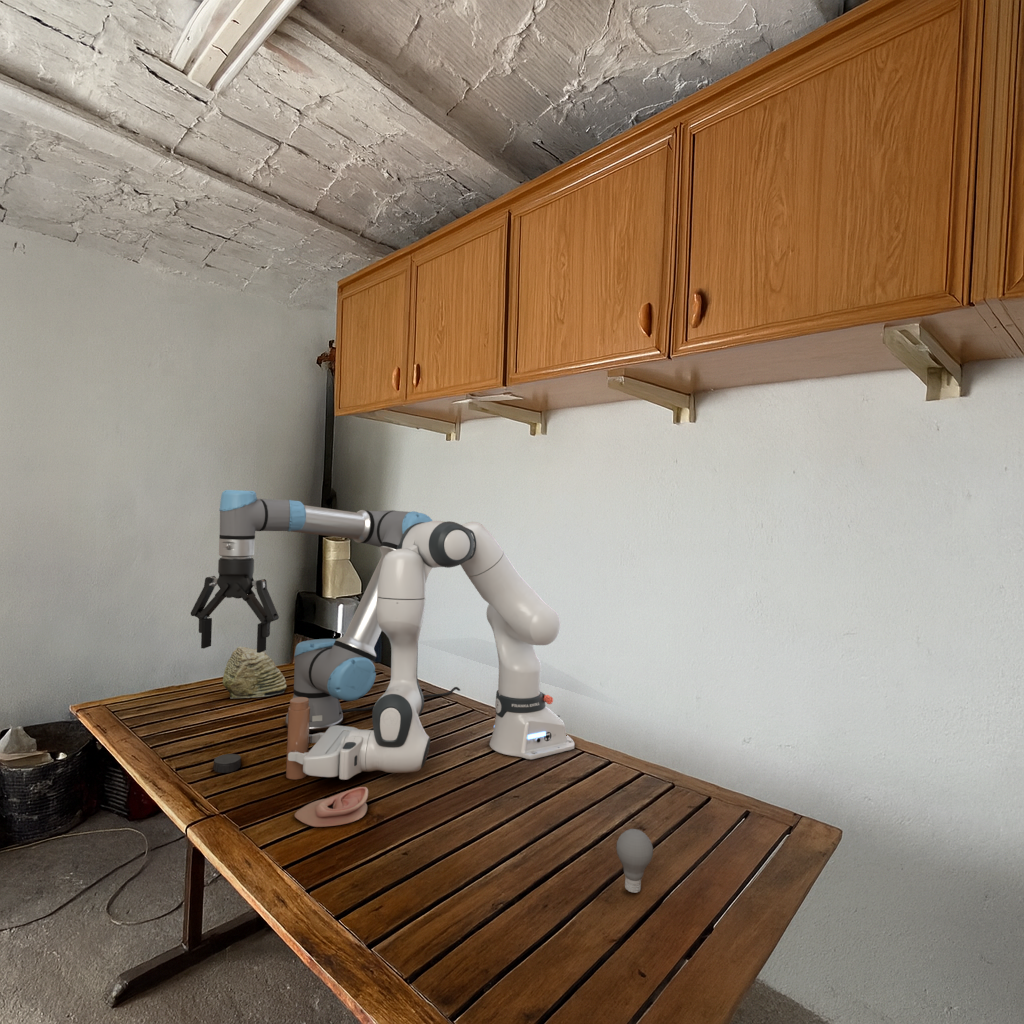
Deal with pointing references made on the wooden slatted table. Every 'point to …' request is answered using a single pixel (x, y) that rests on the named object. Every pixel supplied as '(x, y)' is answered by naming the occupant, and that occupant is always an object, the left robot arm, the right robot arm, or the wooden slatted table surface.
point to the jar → (297, 734)
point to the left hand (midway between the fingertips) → (233, 649)
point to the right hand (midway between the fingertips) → (296, 747)
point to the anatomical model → (335, 809)
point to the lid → (227, 763)
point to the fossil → (252, 675)
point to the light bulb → (634, 857)
